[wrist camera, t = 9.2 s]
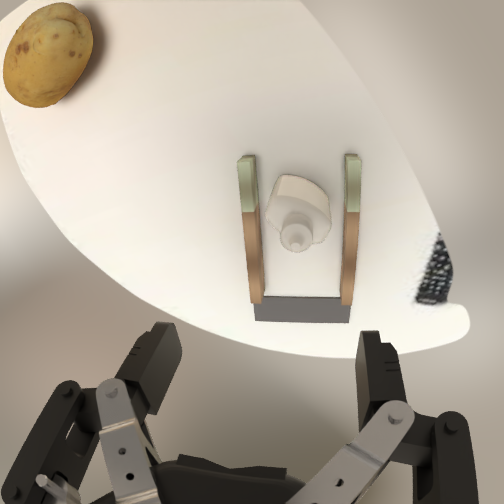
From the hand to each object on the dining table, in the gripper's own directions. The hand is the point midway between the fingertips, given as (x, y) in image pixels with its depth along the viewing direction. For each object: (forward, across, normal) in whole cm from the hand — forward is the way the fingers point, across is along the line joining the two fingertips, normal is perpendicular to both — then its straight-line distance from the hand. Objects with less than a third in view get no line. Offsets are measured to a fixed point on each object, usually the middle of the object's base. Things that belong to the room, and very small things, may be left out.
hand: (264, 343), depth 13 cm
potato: (+23, +24, -18) cm, 38 cm away
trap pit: (+22, -1, +16) cm, 27 cm away
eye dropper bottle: (+23, -1, +1) cm, 23 cm away
